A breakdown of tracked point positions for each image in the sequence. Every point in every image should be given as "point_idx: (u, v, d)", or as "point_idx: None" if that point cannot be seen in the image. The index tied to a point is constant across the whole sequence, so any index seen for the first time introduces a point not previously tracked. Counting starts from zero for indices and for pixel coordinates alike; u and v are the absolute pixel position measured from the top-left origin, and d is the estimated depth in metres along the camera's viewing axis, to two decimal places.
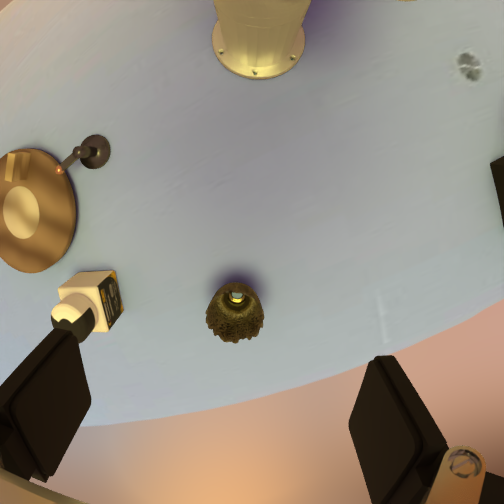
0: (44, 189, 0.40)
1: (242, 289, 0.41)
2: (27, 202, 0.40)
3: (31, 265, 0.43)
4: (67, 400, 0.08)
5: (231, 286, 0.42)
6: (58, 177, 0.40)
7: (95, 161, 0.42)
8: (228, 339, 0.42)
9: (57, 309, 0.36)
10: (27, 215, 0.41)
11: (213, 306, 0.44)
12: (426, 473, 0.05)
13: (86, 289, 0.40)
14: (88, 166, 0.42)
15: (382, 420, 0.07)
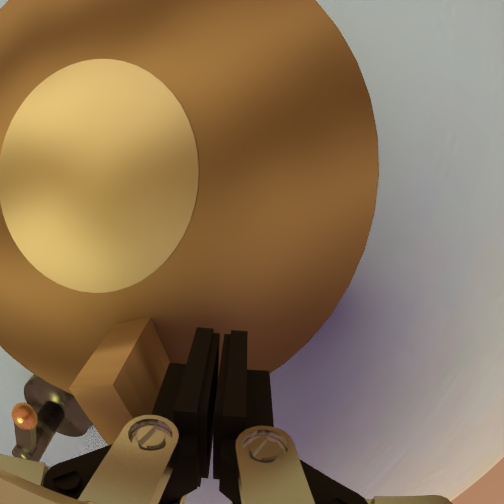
0: (35, 317, 0.11)
1: None
2: (65, 243, 0.10)
3: (1, 27, 0.08)
4: (214, 398, 0.09)
5: None
6: (25, 363, 0.12)
7: (37, 395, 0.16)
8: None
9: None
10: (44, 188, 0.10)
11: None
12: (231, 446, 0.06)
13: None
14: (38, 383, 0.15)
15: None
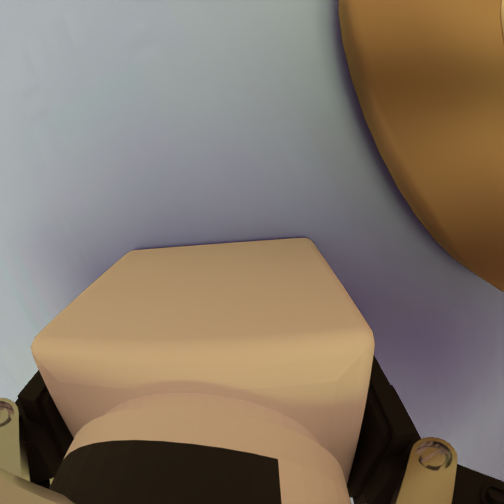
0: None
1: None
2: None
3: None
4: None
5: None
6: (499, 280, 0.09)
7: None
8: None
9: None
10: None
11: None
12: (395, 463, 0.06)
13: None
14: None
15: None
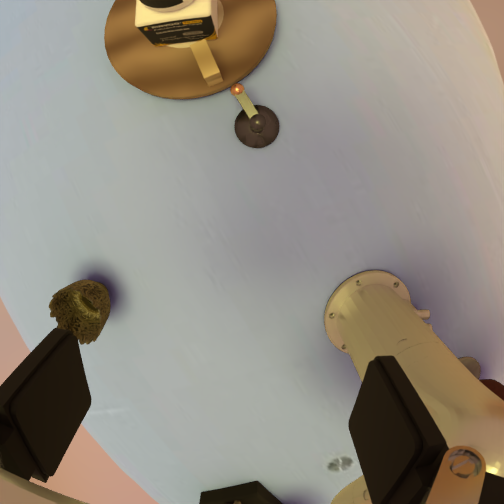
0: (160, 64, 0.30)
1: (104, 321, 0.35)
2: None
3: None
4: (67, 400, 0.08)
5: (105, 307, 0.36)
6: (147, 89, 0.31)
7: (244, 129, 0.35)
8: (52, 307, 0.34)
9: None
10: None
11: None
12: (426, 472, 0.05)
13: (208, 0, 0.22)
14: (238, 118, 0.34)
15: (382, 420, 0.07)
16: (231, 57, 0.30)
